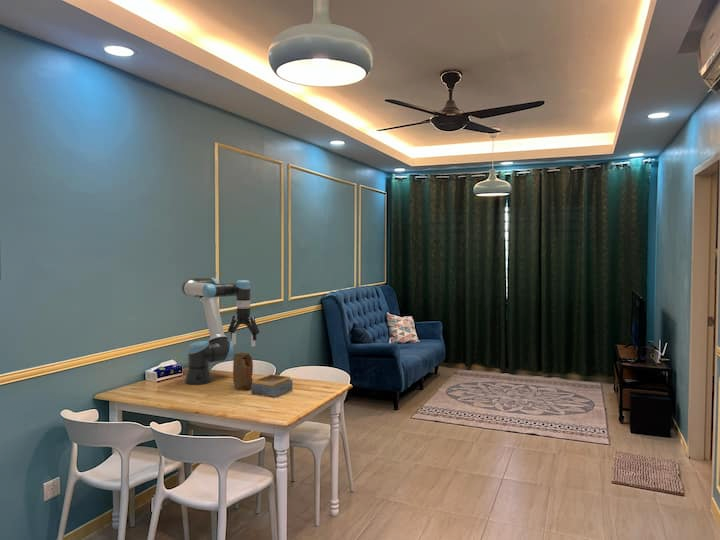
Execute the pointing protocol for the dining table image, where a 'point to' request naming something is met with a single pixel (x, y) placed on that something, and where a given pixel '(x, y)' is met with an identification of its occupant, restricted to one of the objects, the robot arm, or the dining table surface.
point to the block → (242, 371)
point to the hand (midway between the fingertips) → (243, 345)
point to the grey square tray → (271, 385)
